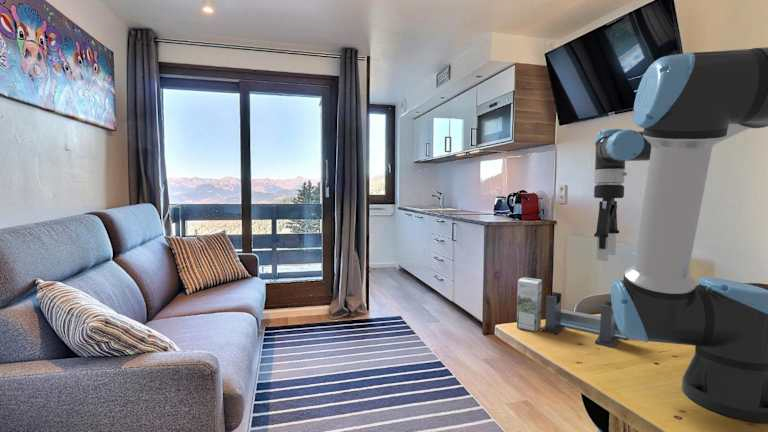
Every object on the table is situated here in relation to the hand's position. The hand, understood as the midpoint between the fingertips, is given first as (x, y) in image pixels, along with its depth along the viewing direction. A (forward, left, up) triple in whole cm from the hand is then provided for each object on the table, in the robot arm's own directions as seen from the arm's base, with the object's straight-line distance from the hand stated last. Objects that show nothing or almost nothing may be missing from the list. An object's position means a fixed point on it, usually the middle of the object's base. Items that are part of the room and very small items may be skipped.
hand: (606, 257), depth 115 cm
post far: (-11, +11, -21) cm, 26 cm away
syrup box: (-14, +17, -21) cm, 31 cm away
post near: (-11, -3, -21) cm, 24 cm away
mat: (-2, +4, -21) cm, 22 cm away
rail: (-3, +4, -20) cm, 21 cm away
